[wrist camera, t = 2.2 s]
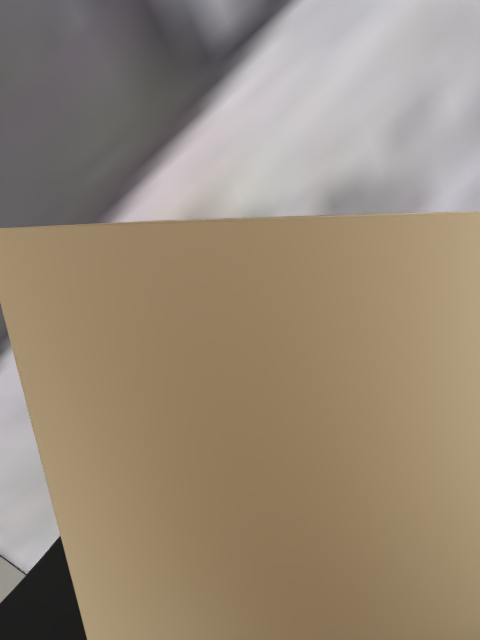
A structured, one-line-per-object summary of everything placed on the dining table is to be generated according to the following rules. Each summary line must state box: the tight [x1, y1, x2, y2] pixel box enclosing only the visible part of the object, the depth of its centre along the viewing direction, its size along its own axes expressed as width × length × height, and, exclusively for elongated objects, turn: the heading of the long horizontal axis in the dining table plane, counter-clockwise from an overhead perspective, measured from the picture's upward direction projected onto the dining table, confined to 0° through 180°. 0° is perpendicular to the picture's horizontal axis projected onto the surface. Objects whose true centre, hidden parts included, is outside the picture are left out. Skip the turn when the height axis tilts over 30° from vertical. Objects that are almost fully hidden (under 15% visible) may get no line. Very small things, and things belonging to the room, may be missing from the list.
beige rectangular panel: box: [0, 211, 480, 640], centre depth 7 cm, size 4×12×7 cm, turn 2°
